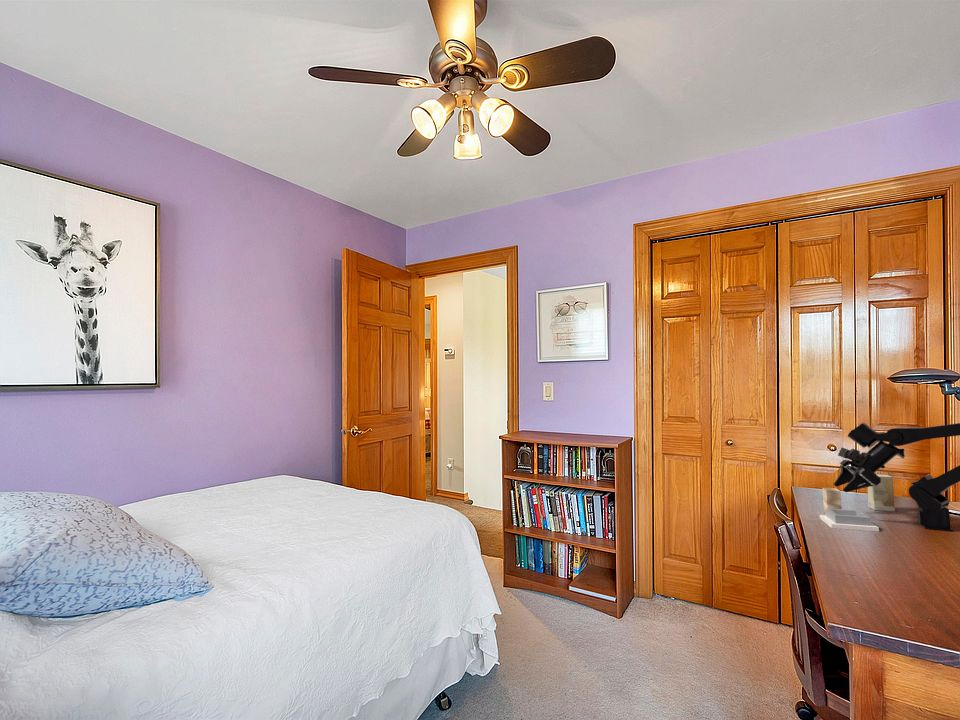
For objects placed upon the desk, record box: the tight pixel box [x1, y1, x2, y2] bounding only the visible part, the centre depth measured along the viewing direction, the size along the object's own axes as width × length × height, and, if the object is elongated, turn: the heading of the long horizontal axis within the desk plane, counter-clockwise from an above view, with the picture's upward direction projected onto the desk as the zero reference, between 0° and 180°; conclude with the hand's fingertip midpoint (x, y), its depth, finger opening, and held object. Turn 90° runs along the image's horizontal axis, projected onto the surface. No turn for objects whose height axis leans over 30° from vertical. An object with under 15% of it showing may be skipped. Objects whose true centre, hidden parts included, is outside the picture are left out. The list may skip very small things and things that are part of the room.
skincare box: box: [867, 473, 896, 512], centre depth 165 cm, size 6×4×12 cm
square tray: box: [819, 508, 880, 532], centre depth 148 cm, size 12×12×4 cm
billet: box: [822, 487, 843, 515], centre depth 159 cm, size 4×4×9 cm
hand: (839, 488), depth 158 cm, fingers open, 9 cm apart
